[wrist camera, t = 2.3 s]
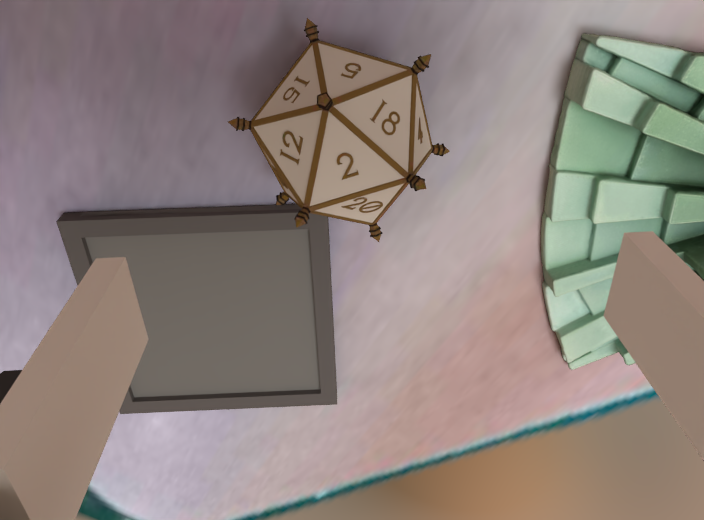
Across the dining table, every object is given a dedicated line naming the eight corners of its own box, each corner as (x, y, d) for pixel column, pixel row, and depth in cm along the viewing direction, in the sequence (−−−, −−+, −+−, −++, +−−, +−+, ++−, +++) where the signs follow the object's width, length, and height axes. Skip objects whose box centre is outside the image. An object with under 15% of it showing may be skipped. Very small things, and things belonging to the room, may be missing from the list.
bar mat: (64, 212, 30) (56, 221, 29) (327, 202, 31) (327, 211, 30) (124, 402, 38) (120, 413, 37) (336, 393, 38) (337, 404, 37)
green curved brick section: (822, 262, 35) (890, 310, 30) (562, 360, 38) (591, 415, 34) (797, -81, 25) (891, -80, 21) (452, 91, 28) (473, 122, 24)
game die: (377, 81, 31) (524, 156, 25) (282, 205, 31) (405, 308, 26) (281, -45, 24) (456, 18, 18) (158, 117, 24) (290, 232, 18)
